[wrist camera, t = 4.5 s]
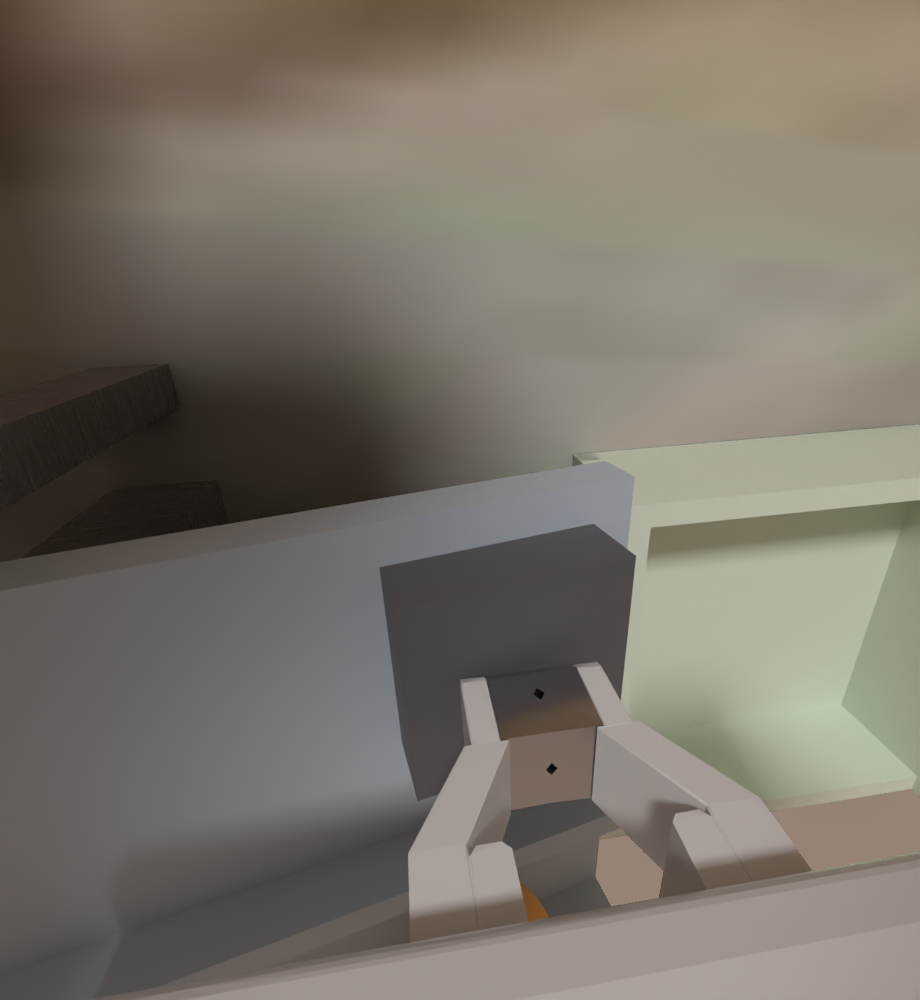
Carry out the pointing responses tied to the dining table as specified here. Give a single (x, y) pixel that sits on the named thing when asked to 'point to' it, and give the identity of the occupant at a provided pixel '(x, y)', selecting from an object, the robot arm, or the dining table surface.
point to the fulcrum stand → (83, 434)
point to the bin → (780, 609)
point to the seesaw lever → (281, 724)
